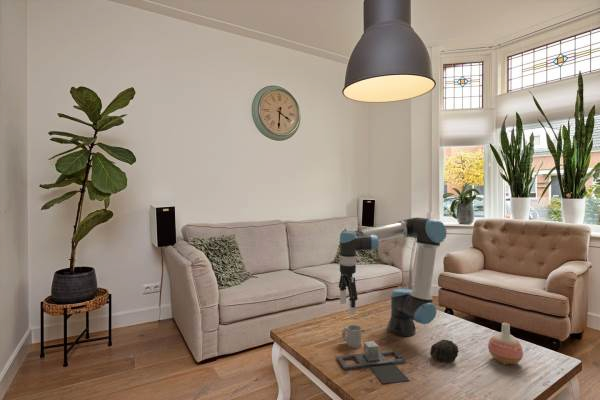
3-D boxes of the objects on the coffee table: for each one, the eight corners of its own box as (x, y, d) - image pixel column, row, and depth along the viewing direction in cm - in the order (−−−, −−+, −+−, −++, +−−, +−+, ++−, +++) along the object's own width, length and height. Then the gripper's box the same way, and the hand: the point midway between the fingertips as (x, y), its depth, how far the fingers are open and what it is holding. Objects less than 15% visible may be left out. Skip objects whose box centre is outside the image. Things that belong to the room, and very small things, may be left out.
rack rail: (395, 352, 159) (395, 349, 158) (405, 363, 149) (405, 360, 149) (336, 358, 152) (336, 356, 152) (343, 370, 142) (344, 367, 142)
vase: (511, 372, 142) (512, 332, 141) (481, 358, 154) (482, 321, 153) (529, 365, 148) (530, 326, 147) (498, 351, 160) (499, 316, 159)
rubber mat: (395, 365, 146) (395, 364, 146) (409, 380, 135) (409, 379, 135) (370, 368, 144) (370, 367, 144) (382, 384, 132) (382, 383, 132)
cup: (360, 349, 161) (360, 331, 161) (340, 346, 165) (340, 328, 164) (362, 342, 168) (362, 325, 168) (343, 339, 171) (343, 323, 171)
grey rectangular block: (373, 357, 153) (373, 341, 153) (378, 363, 149) (378, 346, 148) (363, 358, 152) (363, 341, 152) (368, 364, 147) (368, 347, 147)
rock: (425, 355, 154) (429, 335, 154) (442, 353, 159) (446, 334, 158) (441, 367, 145) (446, 346, 144) (459, 366, 150) (464, 345, 149)
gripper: (332, 259, 166) (332, 300, 166) (348, 271, 141) (348, 319, 142) (346, 258, 167) (346, 299, 168) (365, 270, 142) (364, 318, 143)
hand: (347, 308), depth 155 cm, fingers open, 13 cm apart
